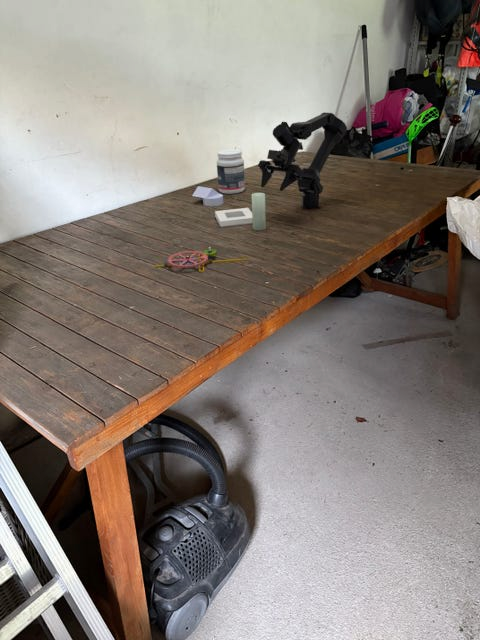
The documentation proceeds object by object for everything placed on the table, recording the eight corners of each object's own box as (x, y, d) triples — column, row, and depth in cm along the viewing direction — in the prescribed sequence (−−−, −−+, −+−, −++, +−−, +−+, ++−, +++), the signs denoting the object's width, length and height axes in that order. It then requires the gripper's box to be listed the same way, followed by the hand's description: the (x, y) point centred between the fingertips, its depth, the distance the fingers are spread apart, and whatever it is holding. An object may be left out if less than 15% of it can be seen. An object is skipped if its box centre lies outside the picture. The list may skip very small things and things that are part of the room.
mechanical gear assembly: (156, 259, 170) (154, 279, 157) (155, 248, 168) (152, 266, 155) (244, 252, 172) (249, 271, 159) (244, 241, 170) (249, 259, 157)
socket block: (248, 213, 210) (248, 207, 208) (255, 223, 197) (255, 217, 196) (215, 216, 207) (214, 211, 206) (220, 227, 195) (220, 221, 194)
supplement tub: (217, 188, 248) (214, 150, 239) (243, 186, 248) (241, 148, 240) (219, 195, 236) (216, 155, 227) (246, 193, 237) (245, 153, 228)
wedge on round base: (192, 203, 227) (214, 207, 220) (191, 188, 224) (213, 192, 217) (205, 198, 233) (227, 202, 226) (204, 184, 230) (226, 187, 223)
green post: (264, 225, 195) (263, 192, 189) (267, 229, 190) (266, 195, 184) (251, 226, 194) (250, 193, 188) (254, 231, 190) (253, 196, 183)
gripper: (259, 138, 192) (241, 174, 191) (298, 142, 180) (280, 180, 179) (273, 155, 201) (256, 189, 199) (311, 160, 189) (294, 196, 188)
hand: (271, 188), depth 191 cm, fingers open, 9 cm apart
